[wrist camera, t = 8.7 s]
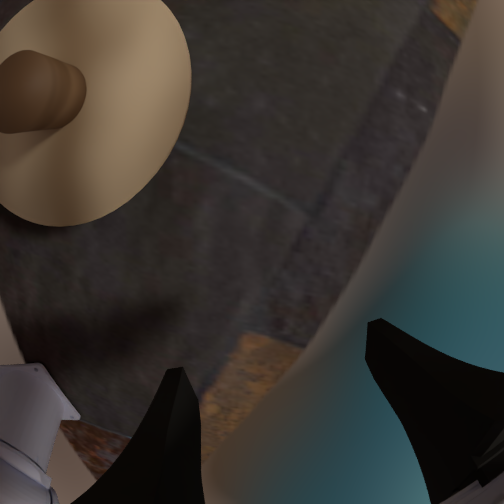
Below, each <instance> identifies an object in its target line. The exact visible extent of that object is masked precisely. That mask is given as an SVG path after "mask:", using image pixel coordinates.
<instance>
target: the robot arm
mask: <svg viewBox="0 0 504 504" xmlns="http://www.w3.org/2000/svg"><path fill="white" fill-rule="evenodd" d="M365 360H366V363H367V365H368V367H369V369H370V371H371V374H372V376H373V378H374V380H375V381H376V383H377V384H378V386H379V388H380V389H381V391H382V392H383V394H384V396H385V397H386V399H387V400H388V402H389V403H390V405H391V407H392V408H393V410H394V411H395V413H396V415H397V416H398V418H399V419H400V421H401V423H402V425H403V427H404V429H405V431H406V433H407V436H408V438H409V440H410V442H411V445H412V447H413V449H414V452H415V454H416V457H417V459H418V462H419V465H420V467H421V471H422V473H423V477H424V480H425V483H426V486H427V490H428V494H429V498H430V502H431V504H504V373H503V372H498V371H493V370H489V369H485V368H482V367H478V366H475V365H472V364H468V363H466V362H463V361H461V360H458V359H456V358H453V357H450V356H448V355H446V354H444V353H442V352H440V351H438V350H436V349H434V348H432V347H430V346H428V345H426V344H424V343H422V342H421V341H419V340H417V339H415V338H414V337H412V336H410V335H409V334H407V333H405V332H404V331H402V330H400V329H399V328H397V327H395V326H394V325H392V324H391V323H389V322H387V321H385V320H384V319H382V318H380V319H377V320H374V321H371V322H368V327H367V341H366V353H365ZM79 419H80V414H79V413H78V412H77V411H76V409H75V408H74V407H73V406H72V404H71V403H70V402H69V400H68V399H67V398H66V397H65V395H64V394H63V393H62V391H61V390H60V388H59V387H58V386H57V384H56V383H55V382H54V380H53V379H52V377H51V376H50V374H49V373H48V371H47V370H46V368H45V367H44V366H43V365H42V364H40V363H31V364H16V365H0V504H59V501H58V497H57V494H56V492H55V490H54V489H53V488H52V487H51V486H50V484H51V477H49V476H47V475H46V471H47V467H48V464H49V459H50V456H51V452H52V449H53V445H54V442H55V438H56V435H57V432H58V429H59V425H60V422H61V420H79ZM71 504H205V500H204V493H203V487H202V479H201V420H200V411H199V403H198V399H197V397H196V394H195V392H194V390H193V388H192V386H191V384H190V382H189V379H188V377H187V375H186V373H185V371H184V368H183V367H179V368H172V369H167V371H166V372H165V375H164V377H163V379H162V381H161V384H160V386H159V388H158V390H157V392H156V395H155V397H154V399H153V401H152V403H151V405H150V407H149V409H148V411H147V413H146V415H145V416H144V418H143V420H142V422H141V423H140V425H139V427H138V429H137V430H136V432H135V434H134V435H133V437H132V439H131V440H130V442H129V443H128V445H127V446H126V447H125V449H124V450H123V452H122V453H121V454H120V455H119V457H118V458H117V459H116V461H115V462H114V463H113V464H112V465H111V467H110V468H109V469H108V470H107V471H106V472H105V473H104V474H103V475H102V476H101V477H100V478H99V479H98V480H97V481H96V482H95V484H94V485H92V486H91V487H90V488H89V489H88V490H87V491H86V492H85V493H83V494H82V495H81V496H80V497H78V498H77V499H76V500H75V501H73V502H72V503H71Z"/></svg>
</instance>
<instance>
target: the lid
mask: <svg viewBox="0 0 504 504" xmlns="http://www.w3.org/2000/svg"><path fill="white" fill-rule="evenodd" d="M191 78H192V72H191V63H190V56H189V51H188V48H187V44H186V40H185V37H184V34H183V32H182V30H181V27H180V25H179V23H178V21H177V20H176V18H175V17H174V15H173V14H172V12H171V11H170V9H169V8H168V7H167V6H166V5H165V4H164V3H163V2H162V1H161V0H34V1H32V2H31V3H30V4H28V5H27V6H26V7H24V8H23V9H22V10H21V11H20V12H19V13H17V14H16V15H15V16H14V17H13V18H12V19H11V20H10V21H9V22H8V24H7V25H6V26H5V27H4V28H3V29H2V30H1V32H0V204H2V205H3V206H4V207H5V208H7V209H8V210H9V211H10V212H12V213H14V214H15V215H17V216H19V217H21V218H23V219H25V220H28V221H30V222H33V223H37V224H41V225H45V226H58V227H61V226H74V225H78V224H83V223H87V222H90V221H93V220H95V219H98V218H101V217H103V216H105V215H107V214H108V213H110V212H112V211H114V210H116V209H117V208H119V207H120V206H122V205H123V204H124V203H126V202H127V201H129V200H130V199H131V198H132V197H133V196H135V195H136V194H137V193H138V192H139V191H140V190H141V189H142V188H143V187H144V186H145V185H146V184H147V183H148V182H149V181H150V180H151V179H152V177H153V176H154V175H155V174H156V173H157V172H158V171H159V169H160V168H161V166H162V165H163V163H164V162H165V161H166V159H167V158H168V156H169V154H170V153H171V151H172V149H173V147H174V145H175V144H176V142H177V139H178V137H179V135H180V132H181V130H182V127H183V125H184V122H185V118H186V114H187V111H188V107H189V101H190V95H191Z"/></svg>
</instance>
